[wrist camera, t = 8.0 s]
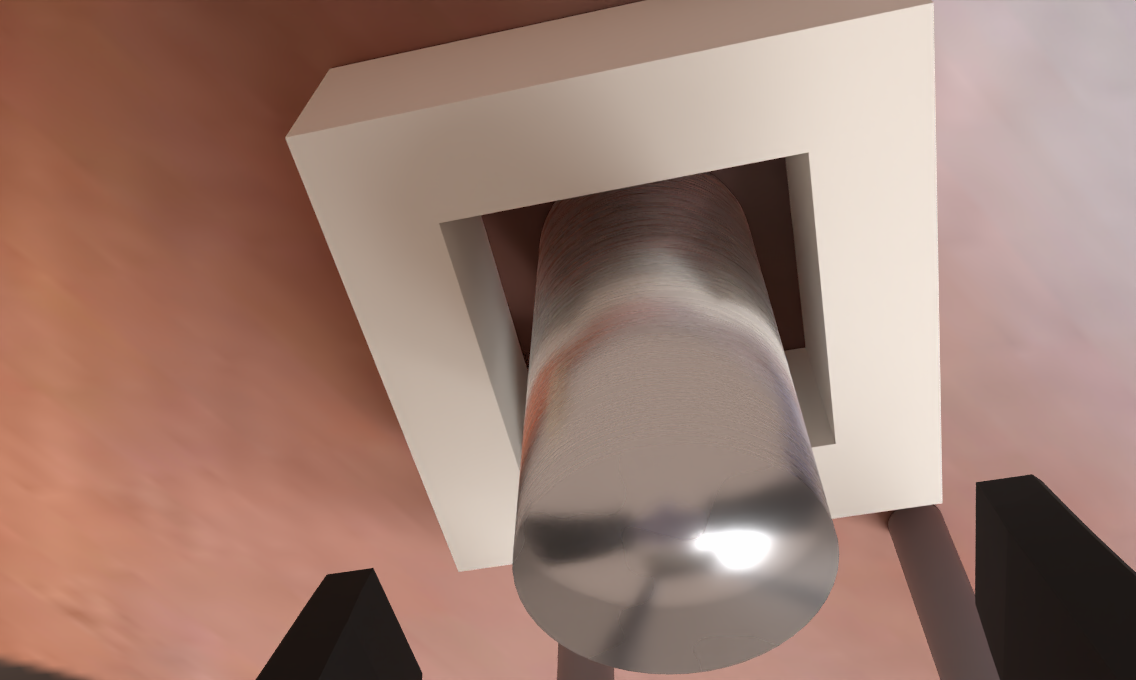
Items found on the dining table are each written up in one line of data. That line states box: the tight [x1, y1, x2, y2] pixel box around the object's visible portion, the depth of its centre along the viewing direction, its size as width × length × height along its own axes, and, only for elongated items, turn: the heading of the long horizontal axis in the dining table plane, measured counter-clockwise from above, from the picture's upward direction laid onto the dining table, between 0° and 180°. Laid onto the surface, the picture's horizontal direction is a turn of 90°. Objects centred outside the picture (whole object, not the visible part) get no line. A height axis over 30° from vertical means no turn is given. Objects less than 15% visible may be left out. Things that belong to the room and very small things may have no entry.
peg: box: [512, 172, 839, 674], centre depth 16 cm, size 4×4×8 cm
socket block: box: [285, 0, 942, 572], centre depth 18 cm, size 9×9×3 cm
